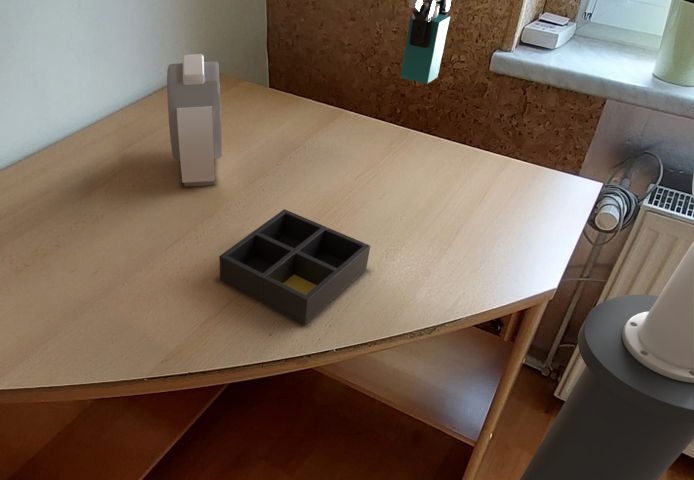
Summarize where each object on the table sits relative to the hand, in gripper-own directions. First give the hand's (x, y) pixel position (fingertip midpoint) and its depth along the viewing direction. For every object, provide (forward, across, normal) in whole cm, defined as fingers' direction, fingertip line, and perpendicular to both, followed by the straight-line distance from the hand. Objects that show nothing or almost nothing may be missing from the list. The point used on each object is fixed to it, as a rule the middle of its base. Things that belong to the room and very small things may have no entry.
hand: (425, 40), depth 101 cm
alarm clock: (+20, -28, +27) cm, 43 cm away
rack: (+20, -42, -5) cm, 47 cm away
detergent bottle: (+6, 0, 0) cm, 6 cm away
